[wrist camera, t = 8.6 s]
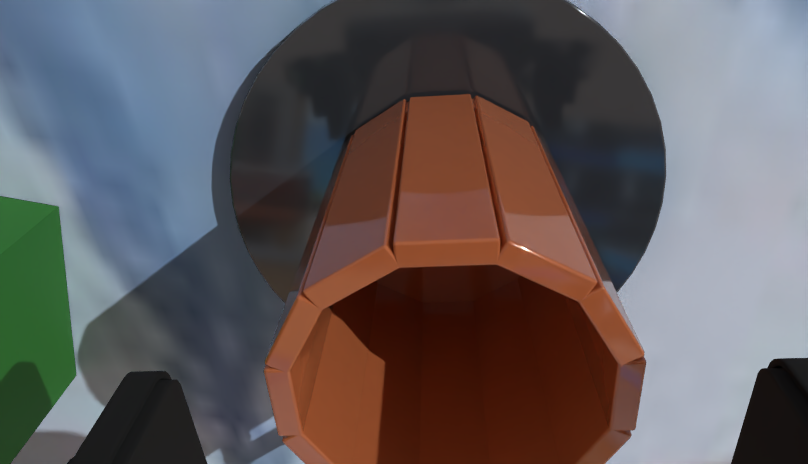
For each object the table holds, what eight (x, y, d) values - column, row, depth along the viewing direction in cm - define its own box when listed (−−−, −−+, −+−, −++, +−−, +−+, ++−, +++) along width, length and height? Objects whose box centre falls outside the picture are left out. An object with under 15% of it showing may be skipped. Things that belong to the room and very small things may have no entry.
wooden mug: (316, 101, 17) (234, 248, 10) (566, 88, 16) (669, 232, 9) (353, 371, 21) (316, 602, 14) (548, 367, 21) (608, 602, 14)
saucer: (591, -125, 15) (599, -126, 14) (696, 286, 20) (706, 300, 20) (153, 84, 18) (141, 92, 17) (349, 393, 23) (347, 408, 23)
